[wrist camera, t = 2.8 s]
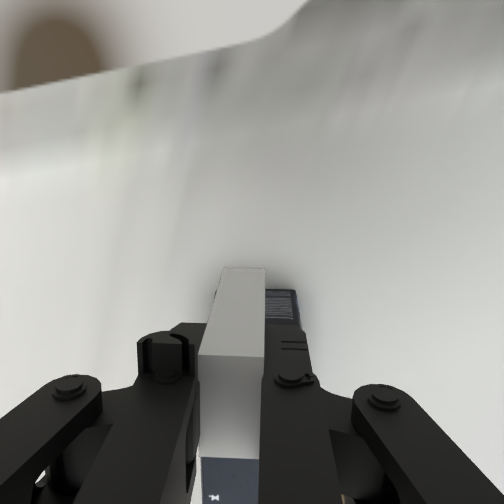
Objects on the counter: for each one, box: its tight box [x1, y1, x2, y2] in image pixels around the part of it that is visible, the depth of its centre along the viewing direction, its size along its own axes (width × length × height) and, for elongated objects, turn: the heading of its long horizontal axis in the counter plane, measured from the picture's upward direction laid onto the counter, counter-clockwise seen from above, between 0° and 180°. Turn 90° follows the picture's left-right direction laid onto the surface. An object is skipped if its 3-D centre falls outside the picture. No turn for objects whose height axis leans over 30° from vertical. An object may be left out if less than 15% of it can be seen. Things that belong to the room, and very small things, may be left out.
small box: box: [201, 289, 302, 504], centre depth 31 cm, size 11×6×10 cm, turn 0°
